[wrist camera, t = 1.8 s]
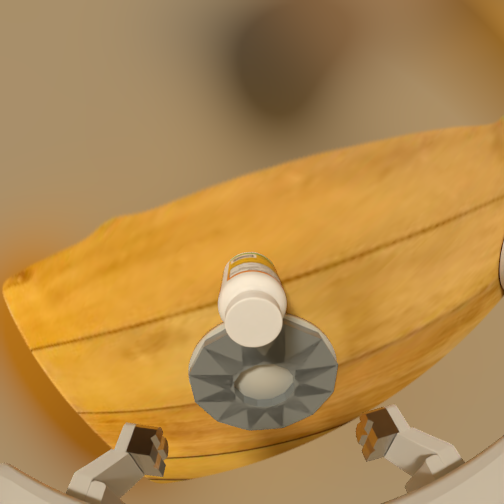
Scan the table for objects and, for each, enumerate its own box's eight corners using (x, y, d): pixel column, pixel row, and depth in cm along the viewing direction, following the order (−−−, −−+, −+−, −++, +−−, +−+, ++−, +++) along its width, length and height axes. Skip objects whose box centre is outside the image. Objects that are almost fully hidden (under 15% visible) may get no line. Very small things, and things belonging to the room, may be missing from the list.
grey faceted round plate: (342, 304, 29) (348, 313, 26) (326, 412, 33) (330, 423, 31) (177, 314, 28) (173, 324, 26) (201, 421, 33) (200, 432, 31)
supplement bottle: (256, 310, 28) (263, 366, 19) (212, 283, 27) (199, 333, 18) (286, 269, 27) (309, 313, 18) (242, 240, 26) (242, 272, 17)
